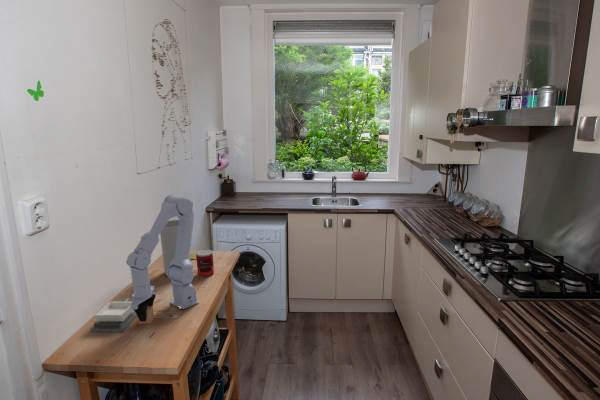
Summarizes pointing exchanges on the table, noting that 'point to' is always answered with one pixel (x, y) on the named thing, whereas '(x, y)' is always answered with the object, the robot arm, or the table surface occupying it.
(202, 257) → the canned food
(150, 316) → the block
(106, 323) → the track
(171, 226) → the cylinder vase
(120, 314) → the white shallow tray
